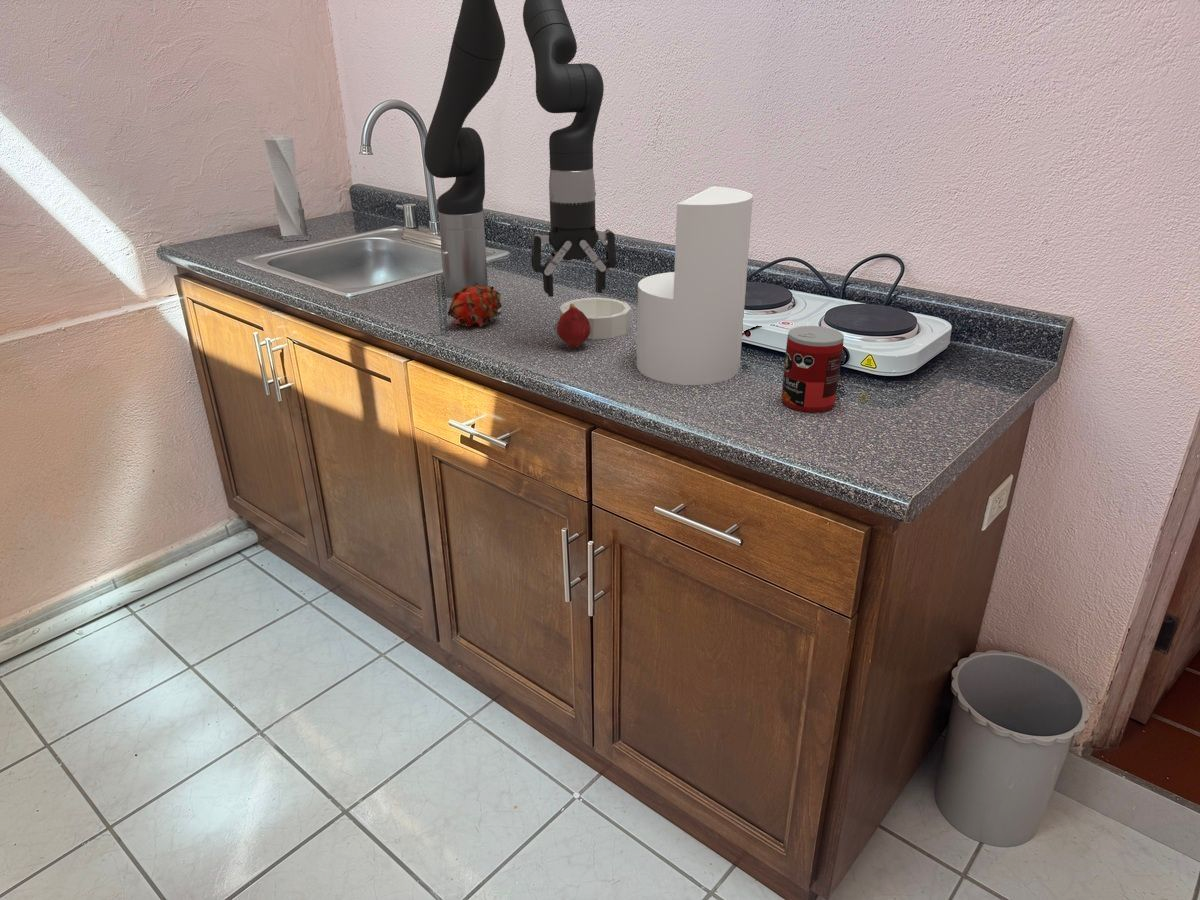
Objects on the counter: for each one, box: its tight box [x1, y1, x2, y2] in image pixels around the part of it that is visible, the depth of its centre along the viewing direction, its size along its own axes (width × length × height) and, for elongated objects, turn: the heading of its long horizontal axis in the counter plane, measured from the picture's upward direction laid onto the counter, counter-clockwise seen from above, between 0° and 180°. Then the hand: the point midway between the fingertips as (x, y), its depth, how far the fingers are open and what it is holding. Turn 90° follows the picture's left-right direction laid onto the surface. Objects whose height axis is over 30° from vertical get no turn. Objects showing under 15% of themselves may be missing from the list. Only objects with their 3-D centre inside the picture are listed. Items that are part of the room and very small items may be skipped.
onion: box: [556, 304, 590, 349], centre depth 148 cm, size 6×6×8 cm
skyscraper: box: [259, 128, 309, 237], centre depth 224 cm, size 8×8×28 cm
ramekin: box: [559, 297, 632, 341], centre depth 159 cm, size 13×13×4 cm
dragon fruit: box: [447, 283, 503, 328], centre depth 160 cm, size 8×8×12 cm
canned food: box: [781, 325, 845, 413], centre depth 125 cm, size 8×8×11 cm
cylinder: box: [636, 185, 754, 386], centre depth 135 cm, size 17×17×28 cm
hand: (574, 293), depth 145 cm, fingers open, 8 cm apart
